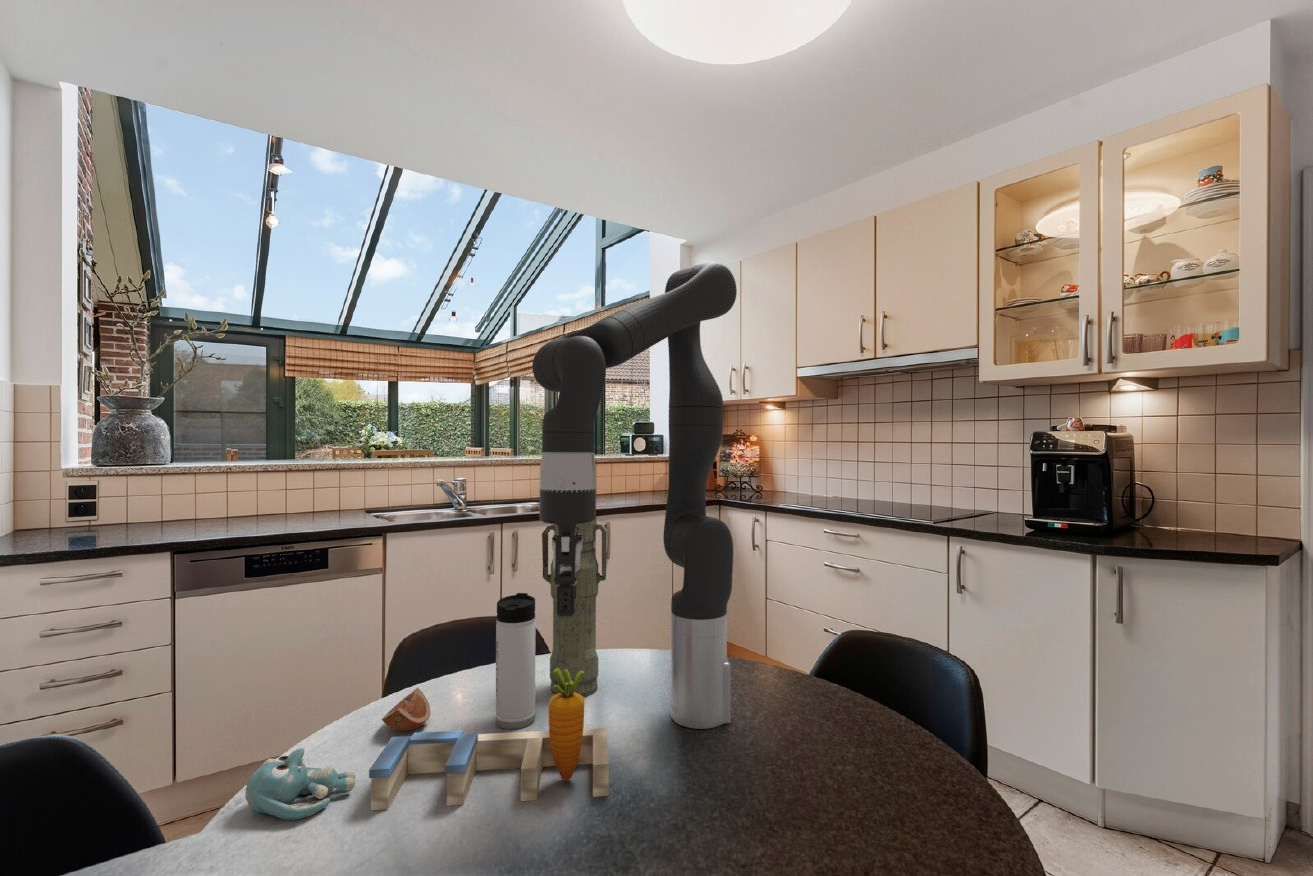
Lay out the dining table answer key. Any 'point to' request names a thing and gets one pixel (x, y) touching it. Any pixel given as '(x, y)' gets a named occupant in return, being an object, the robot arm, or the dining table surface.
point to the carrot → (566, 723)
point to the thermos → (577, 614)
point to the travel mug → (515, 661)
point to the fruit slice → (409, 712)
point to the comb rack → (478, 761)
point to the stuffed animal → (293, 786)
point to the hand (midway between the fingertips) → (567, 607)
